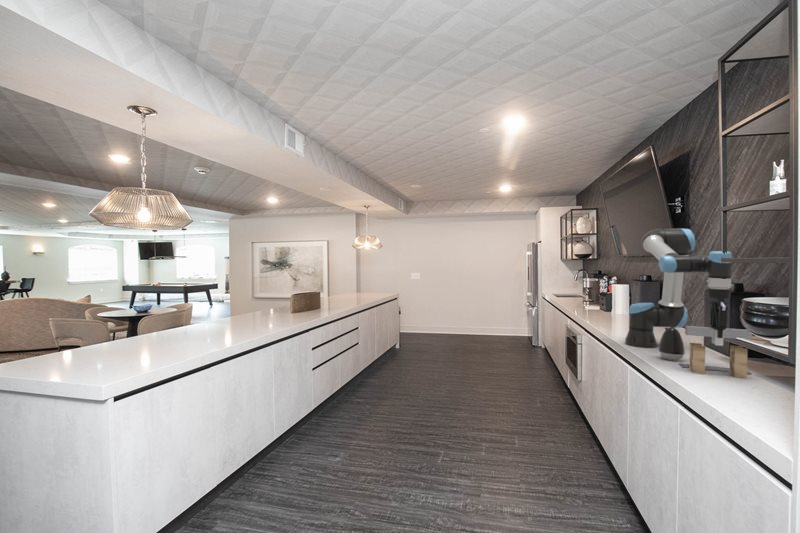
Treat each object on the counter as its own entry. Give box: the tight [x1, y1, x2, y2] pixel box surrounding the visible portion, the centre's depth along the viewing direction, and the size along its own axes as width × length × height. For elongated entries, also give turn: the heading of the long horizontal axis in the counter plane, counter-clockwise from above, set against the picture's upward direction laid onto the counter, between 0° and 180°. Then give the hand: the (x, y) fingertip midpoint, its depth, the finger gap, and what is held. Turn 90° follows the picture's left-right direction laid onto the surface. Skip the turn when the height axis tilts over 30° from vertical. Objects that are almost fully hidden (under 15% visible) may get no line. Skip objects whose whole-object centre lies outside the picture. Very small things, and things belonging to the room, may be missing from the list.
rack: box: [689, 342, 749, 379], centre depth 168 cm, size 6×18×12 cm, turn 67°
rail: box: [684, 325, 753, 341], centre depth 168 cm, size 3×22×4 cm, turn 67°
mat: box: [678, 362, 753, 375], centre depth 175 cm, size 7×24×1 cm, turn 67°
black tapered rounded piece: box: [658, 327, 686, 362], centre depth 192 cm, size 10×10×15 cm
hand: (717, 344), depth 168 cm, fingers closed on rail, 3 cm apart
